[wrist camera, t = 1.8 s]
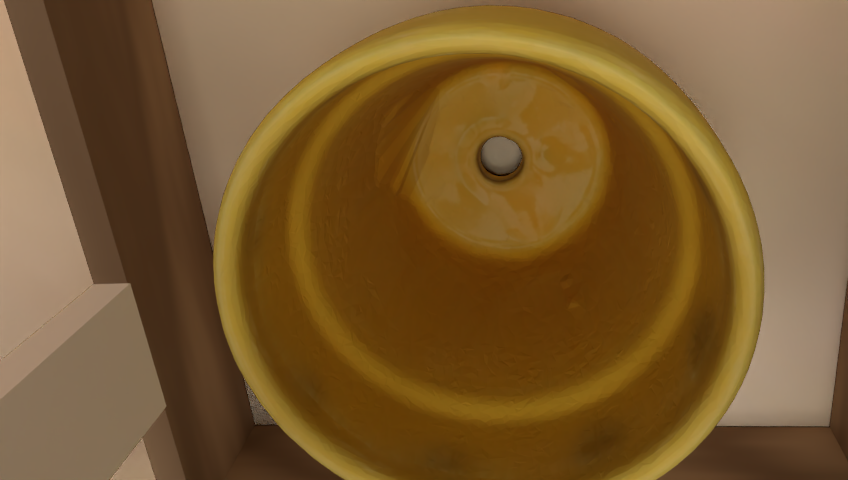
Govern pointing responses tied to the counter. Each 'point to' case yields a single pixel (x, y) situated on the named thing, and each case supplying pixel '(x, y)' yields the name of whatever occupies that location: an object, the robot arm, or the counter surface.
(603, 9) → the counter surface
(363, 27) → the counter surface
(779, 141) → the counter surface
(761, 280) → the plant pot
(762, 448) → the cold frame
